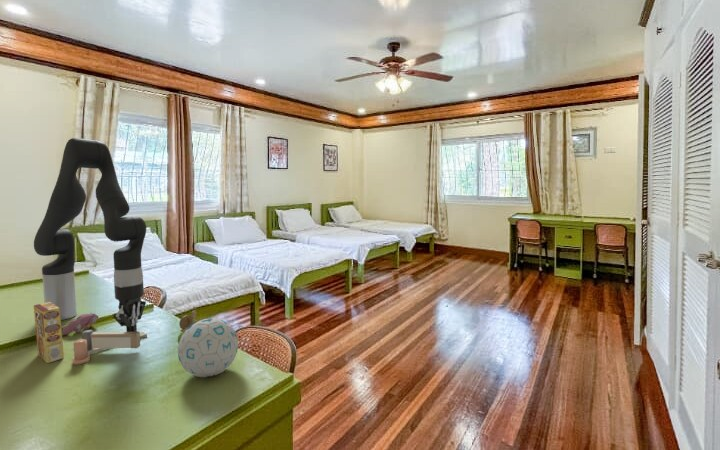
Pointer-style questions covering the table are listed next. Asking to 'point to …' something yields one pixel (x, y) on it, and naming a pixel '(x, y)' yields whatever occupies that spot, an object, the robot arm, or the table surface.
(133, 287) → the robot arm
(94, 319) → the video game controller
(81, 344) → the peach rounded knob
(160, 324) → the table surface
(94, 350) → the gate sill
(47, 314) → the candy box
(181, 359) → the puzzle ball
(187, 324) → the snail figurine
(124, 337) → the beige wooden bar
